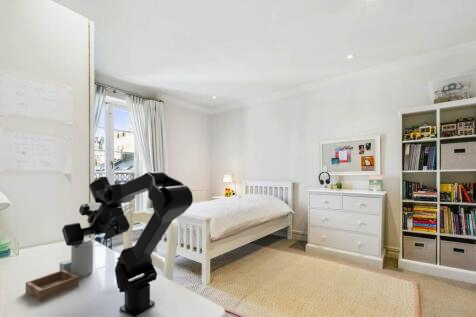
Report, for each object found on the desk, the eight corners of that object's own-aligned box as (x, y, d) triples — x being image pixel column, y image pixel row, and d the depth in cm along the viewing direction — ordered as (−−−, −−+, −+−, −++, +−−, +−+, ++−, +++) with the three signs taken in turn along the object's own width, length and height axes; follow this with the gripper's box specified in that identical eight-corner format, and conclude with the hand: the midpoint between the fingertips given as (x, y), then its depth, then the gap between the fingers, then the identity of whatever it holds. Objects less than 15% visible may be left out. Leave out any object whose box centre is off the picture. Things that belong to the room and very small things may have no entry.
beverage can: (67, 279, 80) (68, 243, 80) (75, 271, 86) (75, 238, 86) (89, 277, 81) (89, 242, 82) (95, 269, 88) (95, 236, 88)
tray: (78, 286, 75) (78, 276, 75) (40, 302, 67) (40, 291, 67) (63, 278, 80) (63, 269, 80) (25, 292, 72) (25, 282, 72)
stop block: (88, 267, 89) (88, 256, 89) (63, 276, 82) (63, 264, 82) (83, 265, 91) (83, 255, 91) (59, 274, 84) (59, 262, 84)
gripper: (125, 191, 85) (110, 218, 91) (64, 198, 70) (50, 230, 76) (138, 216, 80) (120, 243, 87) (75, 229, 65) (60, 260, 71)
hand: (90, 243), depth 80 cm, fingers open, 9 cm apart
